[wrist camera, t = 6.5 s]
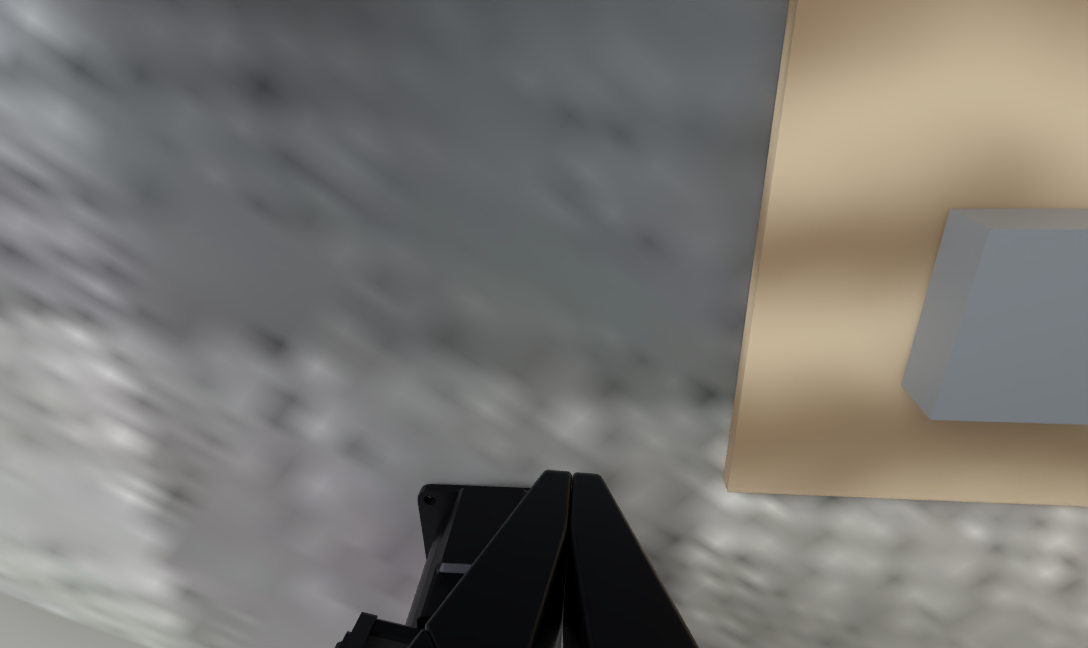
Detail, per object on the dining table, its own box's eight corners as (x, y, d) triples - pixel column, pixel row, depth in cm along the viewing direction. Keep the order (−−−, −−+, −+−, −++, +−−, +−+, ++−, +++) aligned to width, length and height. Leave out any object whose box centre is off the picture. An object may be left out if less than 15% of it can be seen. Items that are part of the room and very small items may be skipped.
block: (898, 382, 20) (1123, 388, 20) (930, 420, 18) (1180, 427, 18) (947, 207, 18) (1208, 207, 17) (990, 229, 16) (1286, 230, 15)
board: (1167, 495, 22) (1186, 510, 21) (723, 477, 24) (727, 491, 23) (1495, -92, 14) (1542, -99, 14) (798, -66, 16) (807, -70, 15)
